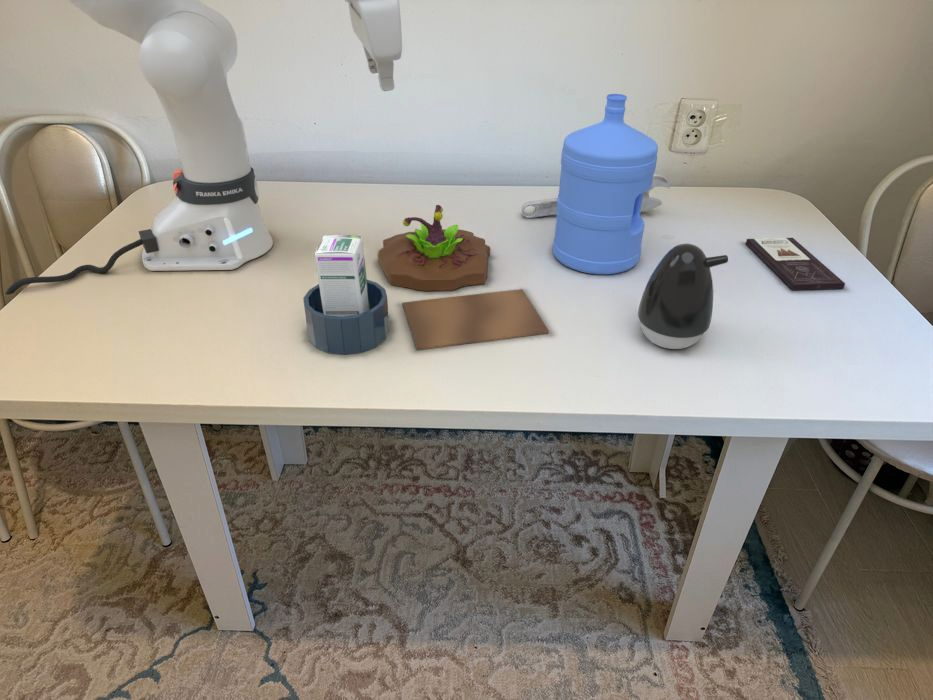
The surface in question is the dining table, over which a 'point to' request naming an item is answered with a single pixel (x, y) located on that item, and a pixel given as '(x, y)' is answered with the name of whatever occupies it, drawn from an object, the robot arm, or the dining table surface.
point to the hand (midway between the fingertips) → (381, 80)
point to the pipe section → (348, 323)
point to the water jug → (603, 193)
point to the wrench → (550, 205)
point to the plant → (434, 257)
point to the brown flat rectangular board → (472, 319)
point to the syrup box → (342, 275)
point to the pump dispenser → (679, 298)
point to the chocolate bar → (794, 264)
